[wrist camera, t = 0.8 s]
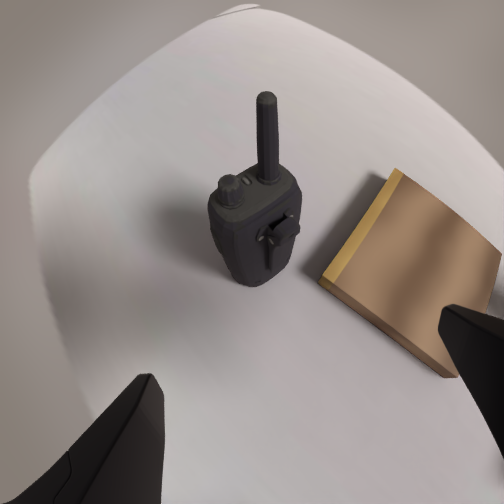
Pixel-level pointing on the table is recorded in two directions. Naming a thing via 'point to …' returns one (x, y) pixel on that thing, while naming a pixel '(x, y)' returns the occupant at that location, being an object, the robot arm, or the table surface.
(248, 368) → the table surface
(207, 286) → the table surface
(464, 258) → the tan flat wooden block
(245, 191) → the two-way radio
